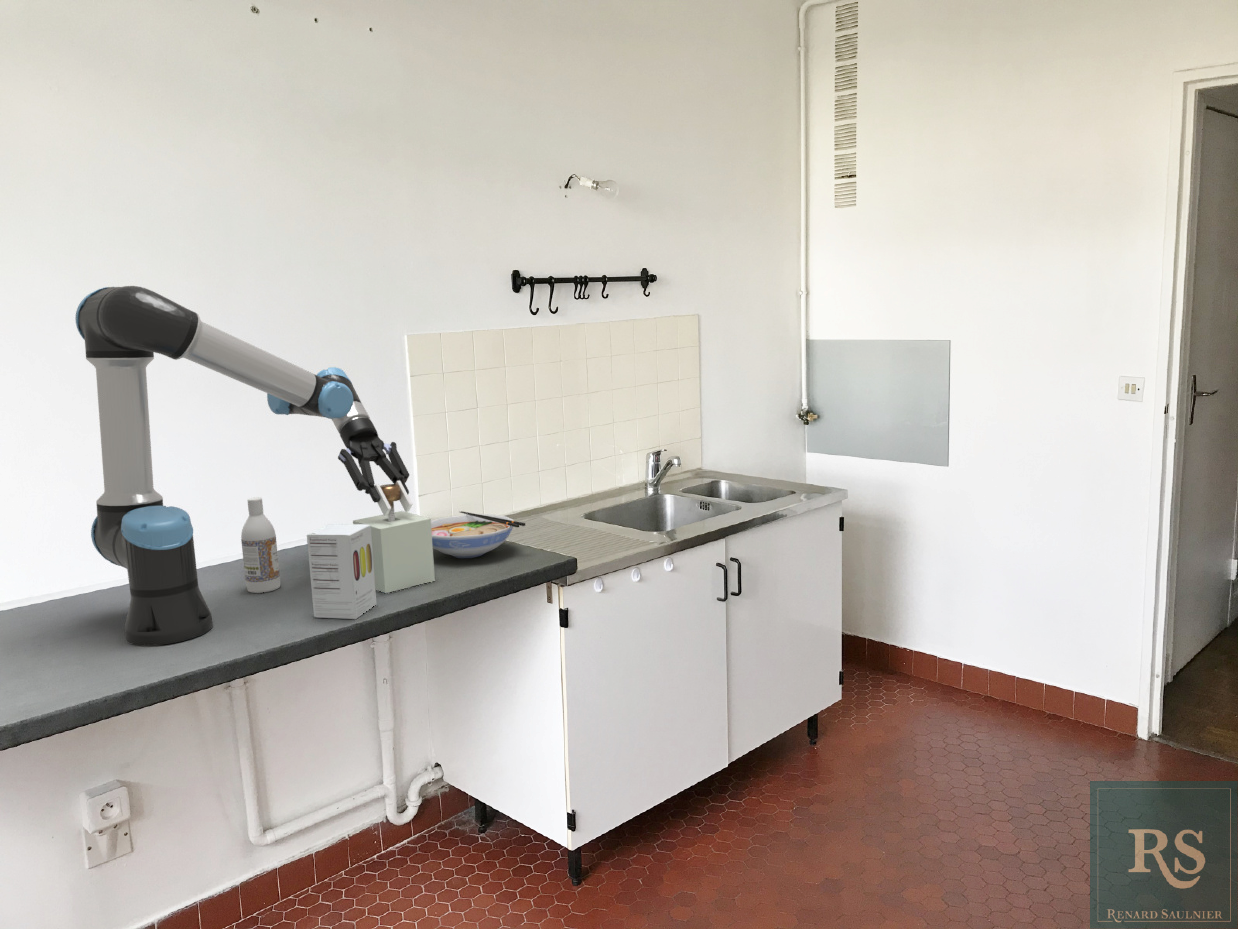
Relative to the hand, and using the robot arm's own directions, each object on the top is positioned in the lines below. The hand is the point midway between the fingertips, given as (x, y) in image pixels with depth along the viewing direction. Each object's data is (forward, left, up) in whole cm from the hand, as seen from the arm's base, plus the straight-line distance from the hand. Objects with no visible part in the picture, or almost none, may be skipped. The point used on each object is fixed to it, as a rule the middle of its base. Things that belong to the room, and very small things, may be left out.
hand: (398, 509), depth 206 cm
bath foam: (-22, +21, -17) cm, 35 cm away
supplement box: (-17, -7, -17) cm, 25 cm away
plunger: (0, +3, -14) cm, 14 cm away
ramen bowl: (+24, +10, -17) cm, 31 cm away
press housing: (0, +3, -17) cm, 17 cm away
